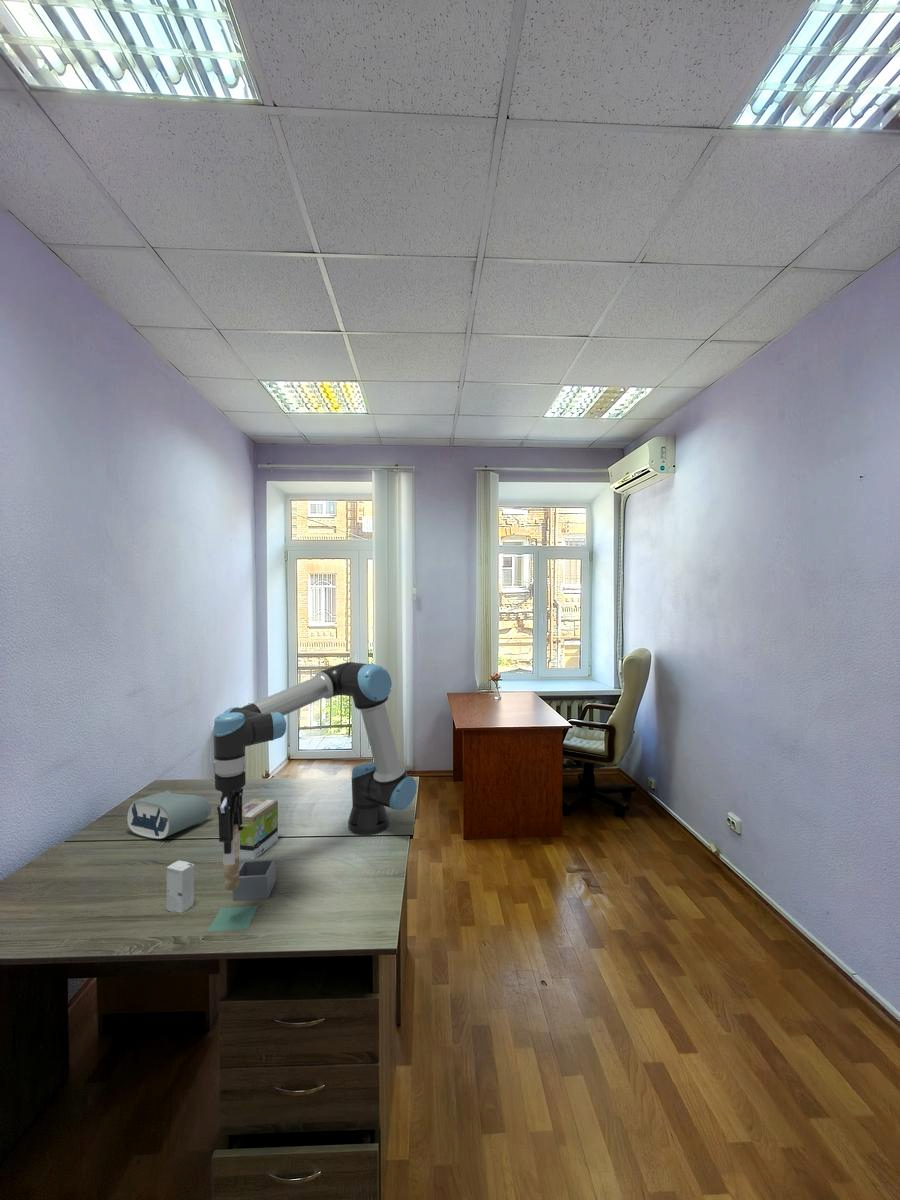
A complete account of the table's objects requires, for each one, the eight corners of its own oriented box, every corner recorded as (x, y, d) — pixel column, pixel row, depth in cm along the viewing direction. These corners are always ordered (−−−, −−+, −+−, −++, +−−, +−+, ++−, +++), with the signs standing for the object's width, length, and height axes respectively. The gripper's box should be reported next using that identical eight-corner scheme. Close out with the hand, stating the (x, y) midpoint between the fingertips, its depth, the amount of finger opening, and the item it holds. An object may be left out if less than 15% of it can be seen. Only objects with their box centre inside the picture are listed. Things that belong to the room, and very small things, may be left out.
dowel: (241, 882, 140) (240, 823, 140) (236, 889, 137) (235, 829, 137) (227, 883, 140) (226, 824, 140) (222, 890, 136) (221, 830, 136)
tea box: (255, 861, 169) (254, 816, 169) (227, 859, 171) (226, 814, 171) (279, 840, 184) (278, 798, 184) (253, 838, 186) (252, 797, 186)
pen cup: (276, 882, 157) (275, 859, 157) (267, 900, 147) (267, 876, 147) (243, 884, 156) (243, 860, 156) (233, 902, 146) (232, 878, 146)
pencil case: (125, 834, 191) (126, 798, 191) (170, 815, 208) (171, 783, 209) (168, 843, 182) (169, 806, 183) (212, 823, 200) (212, 790, 200)
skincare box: (165, 910, 143) (164, 867, 143) (179, 901, 148) (178, 859, 147) (182, 915, 141) (181, 871, 141) (195, 906, 145) (194, 863, 145)
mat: (258, 907, 144) (258, 905, 144) (247, 931, 134) (247, 928, 134) (221, 910, 143) (220, 908, 143) (207, 933, 133) (207, 931, 133)
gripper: (226, 763, 146) (227, 846, 146) (203, 784, 130) (205, 877, 130) (253, 761, 147) (255, 844, 147) (234, 782, 130) (236, 875, 130)
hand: (231, 859), depth 138 cm, fingers closed on dowel, 3 cm apart
